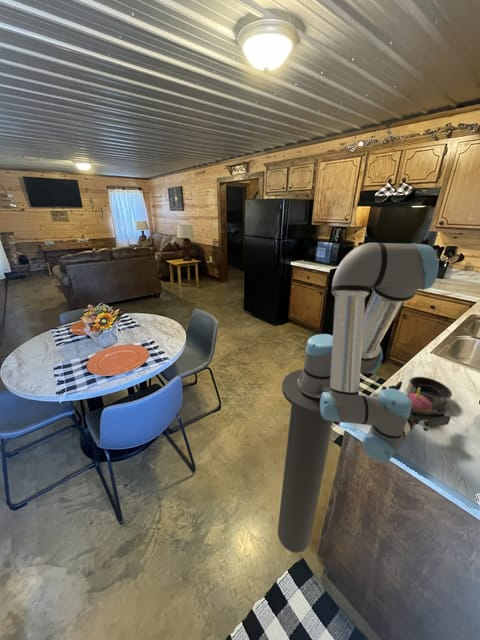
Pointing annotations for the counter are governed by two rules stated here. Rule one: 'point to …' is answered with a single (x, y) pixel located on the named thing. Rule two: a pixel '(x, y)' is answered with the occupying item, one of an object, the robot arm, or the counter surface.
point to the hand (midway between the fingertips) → (420, 393)
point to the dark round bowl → (430, 390)
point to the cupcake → (420, 402)
